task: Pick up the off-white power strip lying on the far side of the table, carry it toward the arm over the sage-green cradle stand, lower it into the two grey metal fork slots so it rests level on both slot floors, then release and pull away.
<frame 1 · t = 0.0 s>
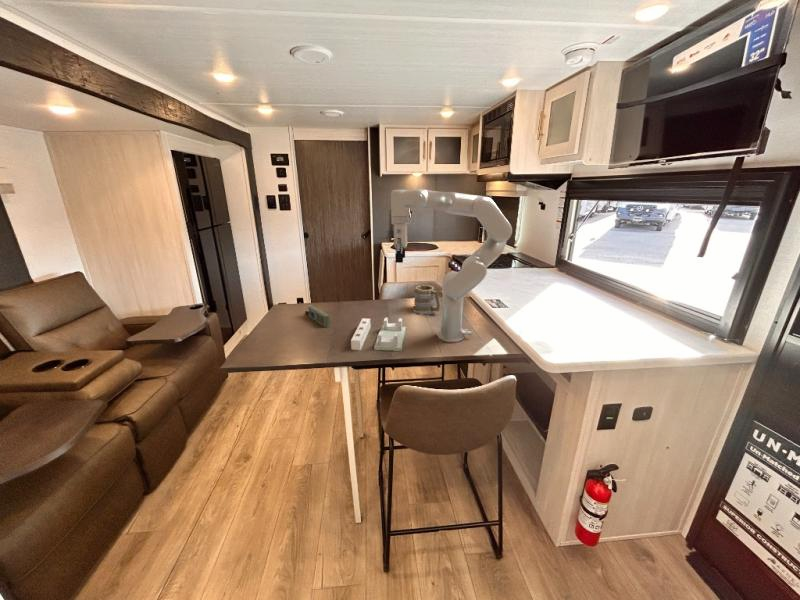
hand: (400, 259, 138), 37 cm above the table, tool pointing down, fingers open, 9 cm apart
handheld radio: (316, 320, 168), on the table
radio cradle: (391, 338, 146), on the table
power strip: (361, 338, 148), on the table
tankard: (428, 312, 177), on the table
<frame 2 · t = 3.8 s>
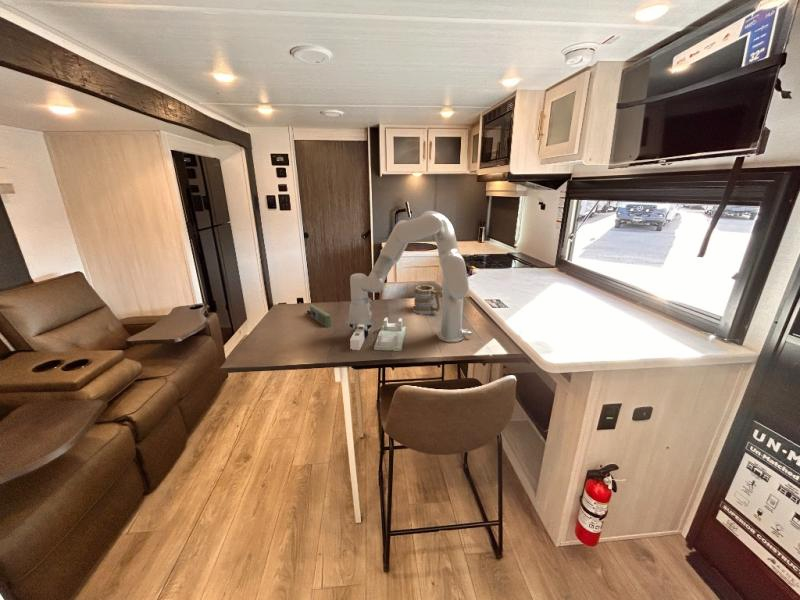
hand: (361, 336, 148), 1 cm above the table, tool pointing down, fingers closed on power strip, 4 cm apart
power strip: (361, 337, 148), on the table, touching gripper
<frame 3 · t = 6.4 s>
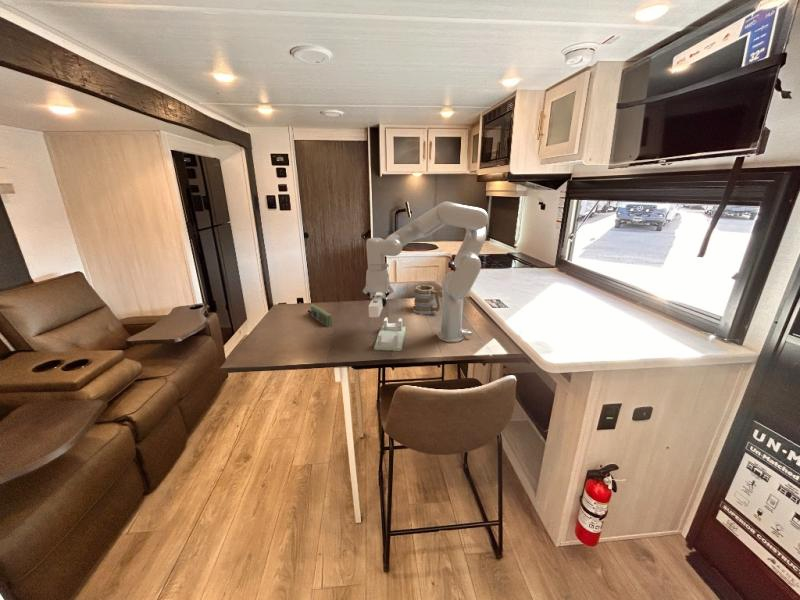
hand: (379, 305, 141), 16 cm above the table, tool pointing down, fingers closed on power strip, 4 cm apart
power strip: (379, 306, 141), point 16 cm above the table, touching gripper
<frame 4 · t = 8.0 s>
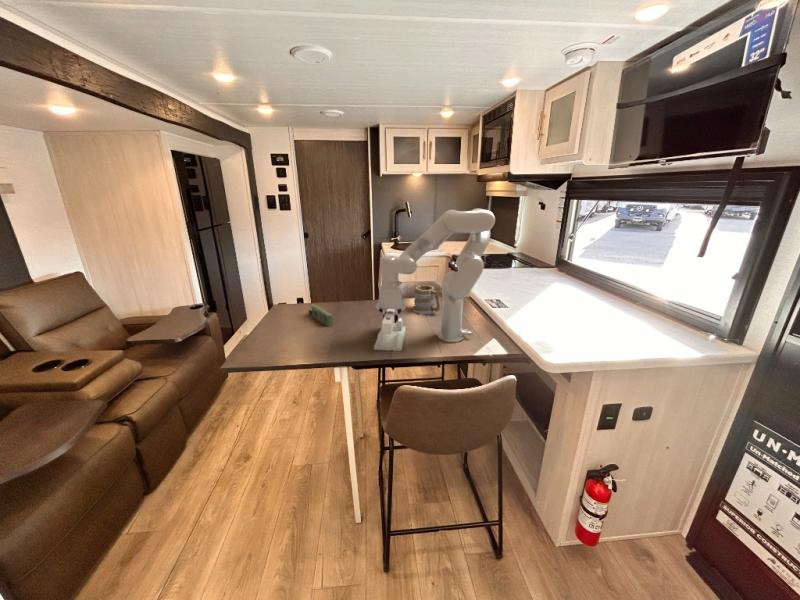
hand: (390, 321, 143), 9 cm above the table, tool pointing down, fingers closed on power strip, 4 cm apart
power strip: (390, 322, 143), point 8 cm above the table, touching gripper
when the fingers open (5 cm above the table, at t = 9.0 s): power strip drops 1 cm, resting on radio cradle.
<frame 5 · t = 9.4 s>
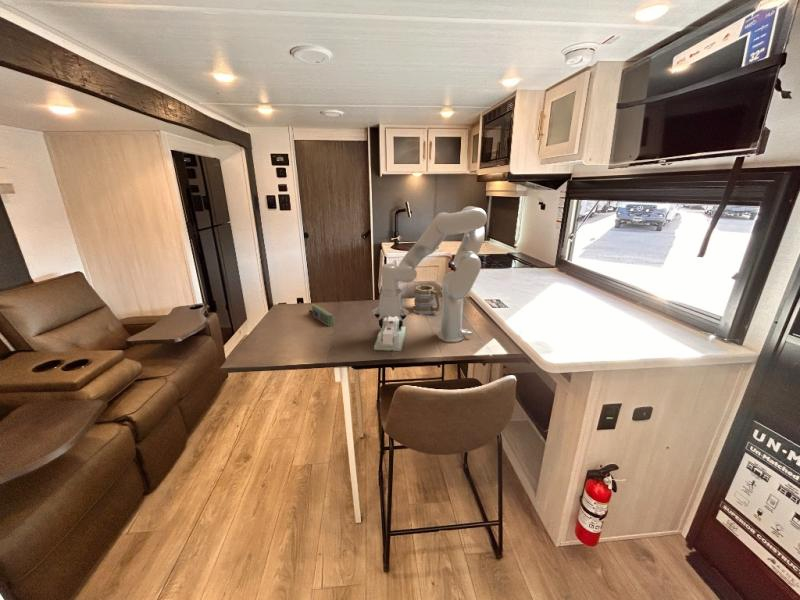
hand: (390, 327, 144), 6 cm above the table, tool pointing down, fingers open, 8 cm apart
power strip: (391, 332, 145), point 3 cm above the table, touching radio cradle
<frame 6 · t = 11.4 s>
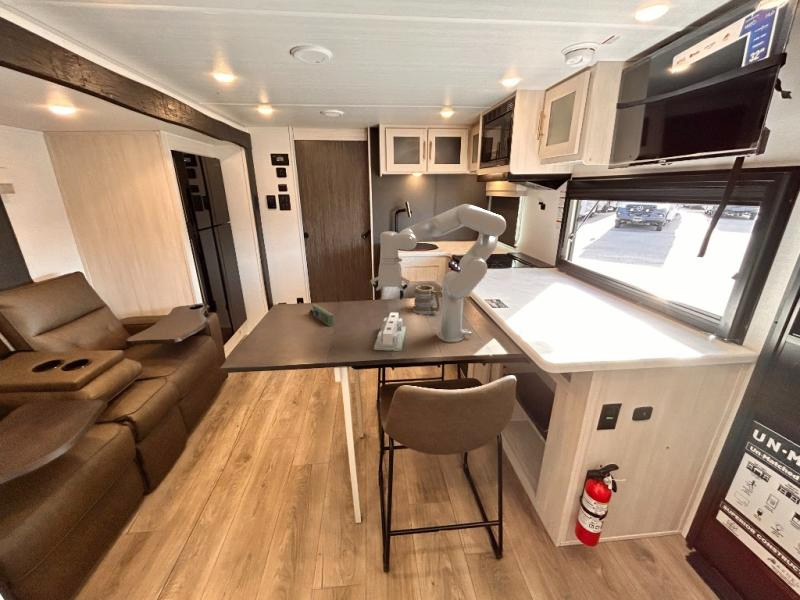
hand: (390, 298, 139), 20 cm above the table, tool pointing down, fingers open, 9 cm apart
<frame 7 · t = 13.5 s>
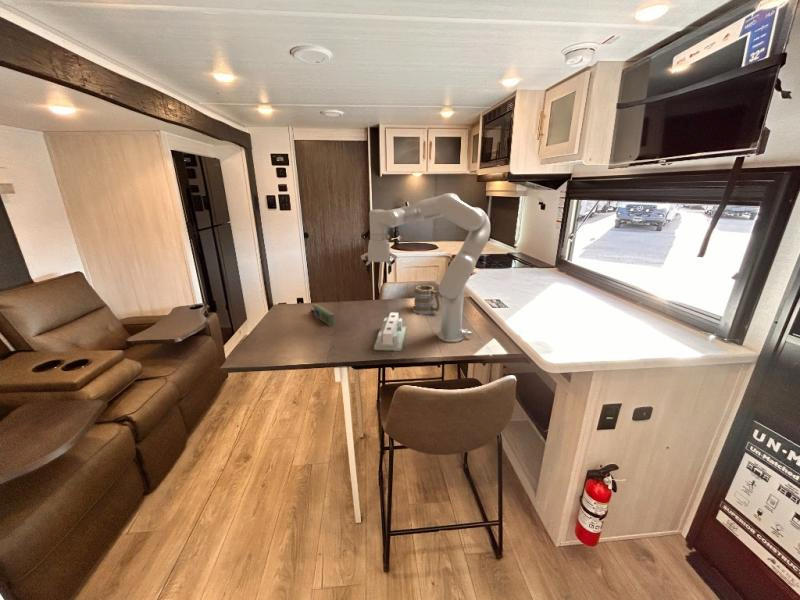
hand: (379, 273, 149), 28 cm above the table, tool pointing down, fingers open, 9 cm apart
at the end: power strip 0.2 cm off-centre on the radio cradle, point 3.5 cm above the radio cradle's base; power strip touching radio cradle; power strip tilted 0° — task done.
